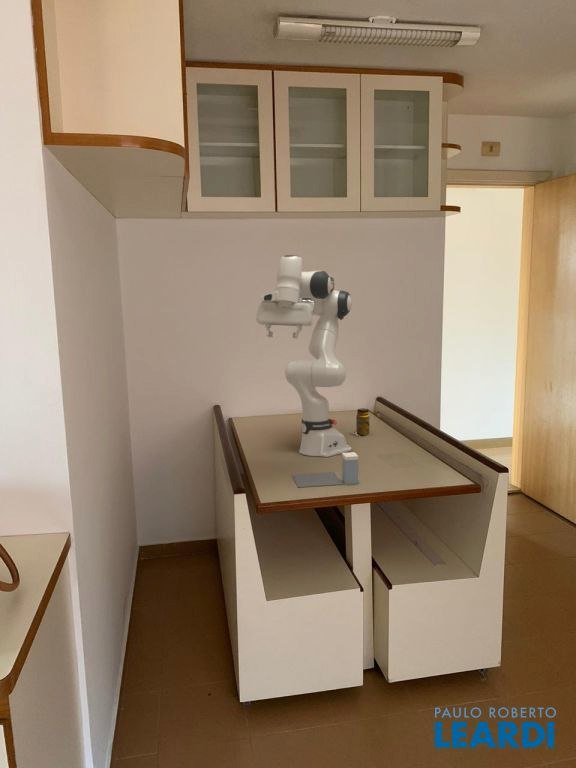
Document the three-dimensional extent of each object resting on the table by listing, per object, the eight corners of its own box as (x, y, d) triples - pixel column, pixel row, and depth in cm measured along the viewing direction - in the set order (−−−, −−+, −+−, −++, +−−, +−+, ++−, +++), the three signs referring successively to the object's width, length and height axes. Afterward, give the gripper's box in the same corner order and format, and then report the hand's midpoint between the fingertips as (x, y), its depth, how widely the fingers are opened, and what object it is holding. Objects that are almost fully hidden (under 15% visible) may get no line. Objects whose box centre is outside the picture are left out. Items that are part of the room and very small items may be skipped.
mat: (334, 472, 220) (334, 471, 220) (343, 484, 206) (343, 483, 206) (291, 475, 217) (291, 474, 217) (298, 487, 204) (298, 486, 204)
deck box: (354, 479, 212) (354, 452, 210) (358, 483, 207) (358, 456, 205) (342, 480, 211) (342, 453, 210) (345, 484, 206) (345, 456, 205)
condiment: (372, 434, 276) (373, 409, 274) (357, 437, 272) (357, 411, 270) (364, 431, 283) (364, 407, 281) (349, 433, 279) (349, 409, 277)
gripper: (317, 302, 207) (313, 340, 205) (263, 301, 213) (258, 338, 212) (312, 297, 201) (308, 336, 199) (257, 296, 207) (252, 334, 206)
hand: (282, 337), depth 205 cm, fingers open, 8 cm apart
